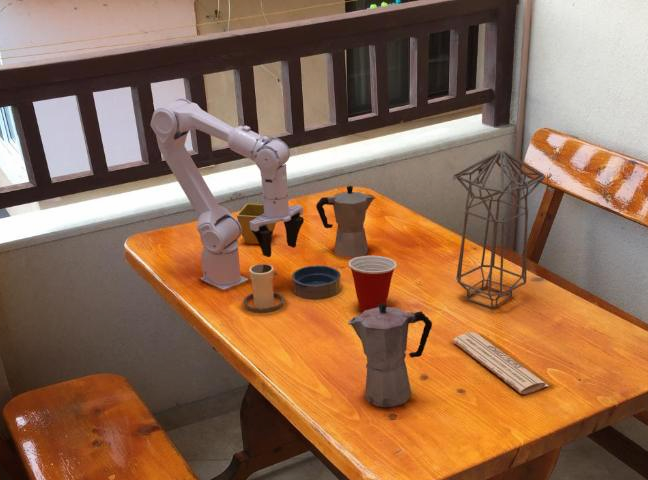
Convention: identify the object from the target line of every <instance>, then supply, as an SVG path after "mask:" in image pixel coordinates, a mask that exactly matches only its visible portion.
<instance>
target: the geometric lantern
mask: <svg viewBox="0 0 648 480" xmlns="http://www.w3.org/2000/svg"><path fill="white" fill-rule="evenodd" d="M495 165H497V166H498V167H499V169H500V188H494V187H487V186H486V185H485V184H486V182H487V181H488V179H489V177H490V174H491V173H492V171H493V169H494V167H495ZM519 165H521V166H522V167H524V168H526V169H528V170H529V171H524V170H523V169H522V168H521V167H520V166H519ZM476 172H478V174H477V175H476V176H475V178H474V179H473V180H472V175H474V174H475V173H476ZM504 174H505V176H506V179H507V185H506V187H505V181H504ZM468 175H469V179H468V178H465V177H463V176H468ZM527 175H529V176H530V175H531V176H532V175H533V176H535V177H534V178H532V179H530V180H528V181H527V180H526V179H527ZM517 176H518V177H519V178H520V180H521V181H522V183H520V182H519V181H517V179H516V177H517ZM480 177H481V178H480ZM545 179H546V175H545V174H544V173H543V172H541V171H539V169H536V168H534V167H532V166H531V165H529V164H527V163H525V162H524V161H522V160H521V159H519V158H517V157H515V156H514V155H513V154H511V153H509V152H507V151H505V150H496V152H494V153H492V154H490V155H488V156H487V157H485V158H483V159H481V160H479V161H478V162H475V163H474V164H471V165H470V166H468V167H466V168H464V169H463V170H461V171H459V172H456V173H455V174H453V175H452V180H453V181H455V180H457V181H458V182H459V183H460V184H461V185H462V187H464V188H465V190H466V191H467V194H466V202H465V207H464V219H463V220H464V221H463V231H462V235H461V236H462V237H461V244H460V250H459V258H458V263H457V269H456V270H457V271H456V278H455V279H456V282H457V283H458V285H460V286H461V287H462V288H463V289H464V290H465V291H466V296H465V299H466V300H467V301H468V302H472V303H475V304H478V305H482V306H485V307H488V308H490V309H492V308H497V307H499V306H500V305H501V304H503V303H505V302H507V301H508V300H509V299H511V298H512V297H513V291H514V290H516V289H518V288H519V287H521V286H524V285H526V284H527V273H528V272H527V271H528V270H527V268H528V267H527V266H528V221H529V208H528V207H529V206H528V197H529V195H530V194H531V193H532V192H533V191H534V190H535V189H536V188H537V187H538V186H539V185H540V184H541V183H542V182H543V181H544V180H545ZM464 182H465V183H464ZM466 183H467V184H468V186H467V185H466ZM480 184H481V185H480ZM512 184H514V186H515V187H513V188H511V185H512ZM472 186H475V187H477V188H478V192H479V195H475V193H474V192H473V187H472ZM531 186H532V187H531ZM530 187H531V188H530ZM525 189H526V191H525ZM482 190H484V191H486V193H487V194H488V195H485V196H482V195H483V194H482ZM507 190H509V191H507ZM521 190H522V194H523V196H521V197H520V191H521ZM490 191H491V192H493V193H490ZM514 191H516V192H517V194H516V193H515V192H514ZM504 194H511V196H512V197H513V198H514V199H515V200H514V202H513V203H512V202H509V201H505V200H502V199H501V198H502V197H503V195H504ZM497 195H498V197H497V198H494V197H495V196H497ZM470 199H471V201H470ZM474 199H477V200H480V201H479V202H477V203H474V204H473V202H474ZM522 200H524V206H523V205H522V206H521V205H520V204H519V205H518V204H516V203H517V202H518V203H519V202H520V201H522ZM469 201H470V203H469ZM488 201H489V202H488ZM487 202H488V203H487ZM493 202H497V203H496V212H495V217H494V215H493V213H492V204H493ZM500 203H503V204H507V205H509V206H510V207H509V209H508V210H507V212H506V213H505V215H504V216H503V217H502V219H501V220H499V215H500V214H499V213H500ZM481 204H483V205H484V207H485V209H486V210H487V217H484V216H481V215H478V214H475V213H472V212H469V210H470V209H471V208H474V207H476V206H479V205H481ZM513 207H517V208H520V209H523V210H524V212H522V213H520V214H517V215H514V216H513V217H511V218H510V217H509V218H508V219H506V217H507V216H508V215H509V213H510V212H511V210H512V209H513ZM469 216H474V217H476V218H479V219H482V220H485V221H486V224H485V225H486V226H485V234H484V241H483V249H482V256H481V262H480V265H479V266H477V267H475V268H472V269H471V270H468V271H466V272H464V273H462V272H463V271H462V270H463V262H464V261H463V260H464V252H465V251H464V250H465V242H466V241H465V240H466V233H467V224H468V219H469ZM522 216H524V235H523V236H524V237H523V249H522V264H521V265H522V266H521V275H520V274H518V273H515V272H513V271H510V270H507V269H504V249H505V248H504V246H505V223H507V222H509V221H512V220H515V219H517V218H519V217H522ZM490 222H491V223H493V227H492V238H491V239H492V240H491V250H490V251H491V252H490V264H484V262H485V255H486V249H487V242H488V241H487V240H488V234H489V228H490V227H489V225H490ZM499 224H501V241H500V242H501V243H500V267H499V266H496V265H495V263H496V262H495V261H496V251H497V249H496V248H497V238H498V227H499V226H498V225H499ZM483 268H489V271H488V275H487V277H486V278H485V275H484V269H483ZM493 269H496V270H499V271H500V272H499V274H500V275H499V282H497V281H493V280H492V278H493ZM478 270H480V272H481V277H482V280H480V281H478V282H477V283H475V284H473V285H470V284H467V283H464V282H463V281H461V280H462V278H463V277H465V276H467V275H469V274H471V273H473V272H476V271H478ZM503 272H504V273H506V274H510V275H512V276H515V277H518V279H517V280H516V281H515V282H514V283H513V284H512V285H511V286H510V285H507V284H503V280H504V279H503V275H504V273H503ZM521 280H522V281H523V282H521V283H519V282H520V281H521ZM484 282H486V283H484ZM479 284H481V287H480V288H477V287H476V286H478V285H479ZM485 284H486V285H485ZM492 284H495V285H498V286H499V289H496V288H493V287H492ZM484 285H485V286H484ZM503 287H506V288H508V289H506V290H503ZM484 289H487V292H486V291H484ZM472 290H473V291H472ZM491 291H495V292H496V293H491ZM480 293H481V294H480ZM473 295H475V296H478V297H481V298H484V299H487V300H490V304H487V303H484V302H480V301H477V300H473V299H471V298H470V297H471V296H473ZM505 295H507V296H508V297H507V298H505V299H503V300H502V301H500V302H499V303H498V301H499V299H500V298H503V297H504V296H505ZM493 297H496V298H493ZM494 301H495V304H494V303H493V302H494Z"/></svg>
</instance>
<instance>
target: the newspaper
mask: <svg viewBox="0 0 648 480" xmlns="http://www.w3.org/2000/svg"><path fill="white" fill-rule="evenodd" d="M452 342H453V344H455V345H457V346H458V347H459V348H461V349H462V350H463V351H464V352H466V353H467V354H468V355H469V356H471V357H472V358H474V359H475V360H476V361H478V362H479V363H480V364H481V365H483V366H484V367H486V368H487V369H488V370H489V371H491V372H492V373H493V374H495V375H496V376H497V377H499V378H500V379H501V380H503V381H504V382H505V383H506V384H508V385H509V386H510V387H512V388H513V389H514V390H516V391H517V392H518V393H520V394H521V395H528V394H531V393H534V392H536V391H539V390H541V389H544V388H546V387H550V385H549V384H548V383H546V382H545V381H544V380H542V379H541V378H539V377H538V376H536V375H535V374H534V373H533V372H531V371H530V370H529V369H527V368H525V367H524V366H523V365H521V364H520V363H518V362H517V361H516V360H515V359H513V358H511V357H510V356H509V355H508V354H506V353H505V352H504V351H502V350H500V348H498V347H496V346H495V345H494V344H492V343H491V342H489V341H488V340H487V339H486V338H484V337H483V336H481V335H480V334H478V333H477V332H466V333H463V334H460V335H458V336H456V337H454V338H453V339H452Z"/></svg>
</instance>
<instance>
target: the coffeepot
mask: <svg viewBox="0 0 648 480" xmlns="http://www.w3.org/2000/svg"><path fill="white" fill-rule="evenodd" d="M353 190H354V186H353V185H347V186H346V191H343V192H339V193H335V194H334V195H333V196H326V197H324V196H323V197H321V198H320V199H319V201H317V202H316V204H315V208H316V210H317V212H318V215H319V217H320V220H321V223H322V225H323V227H324V228H325V229H332V228H333V225H334V224H333V223H328V217H327V216H326V213H325V212H326V211H325V209H324V206H325V205H326V206H332V207H333V212H334V218H335V223H336V224H337V229H336V234H335V235H336V236H335V241H334V250H333V253H334V254H336V255H337V256H339V257H341V258H353V259H354V258H356V257H361V256H367V254H368V251H369V246H368V240H367V235H366V230H365V229H366V228H364V224H365V220H366V214H367V211H368V209H369V207H370V206H371V204H372V202H373V201H374V200H375V199H376V197H375V195H373V194H369V193H363V192H360V191H353Z"/></svg>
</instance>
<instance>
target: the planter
mask: <svg viewBox="0 0 648 480" xmlns="http://www.w3.org/2000/svg"><path fill="white" fill-rule="evenodd" d="M341 277H342V275H341V272H340V271H339V270H338V269H337V268H335V267H333V266H327V265H319V264H318V265H317V264H316V265H308V266H307V265H306V266H302V267H301V268H298V269H296V270H294V271H293V273H292V274H291V288H292V293H294V295H295V296H298V297H299V298H301V299H306V300H324V299H328V298H331V297H334V296H336V295H337V294H339V293H340V291H341V289H342V280H341V279H342V278H341Z"/></svg>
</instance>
